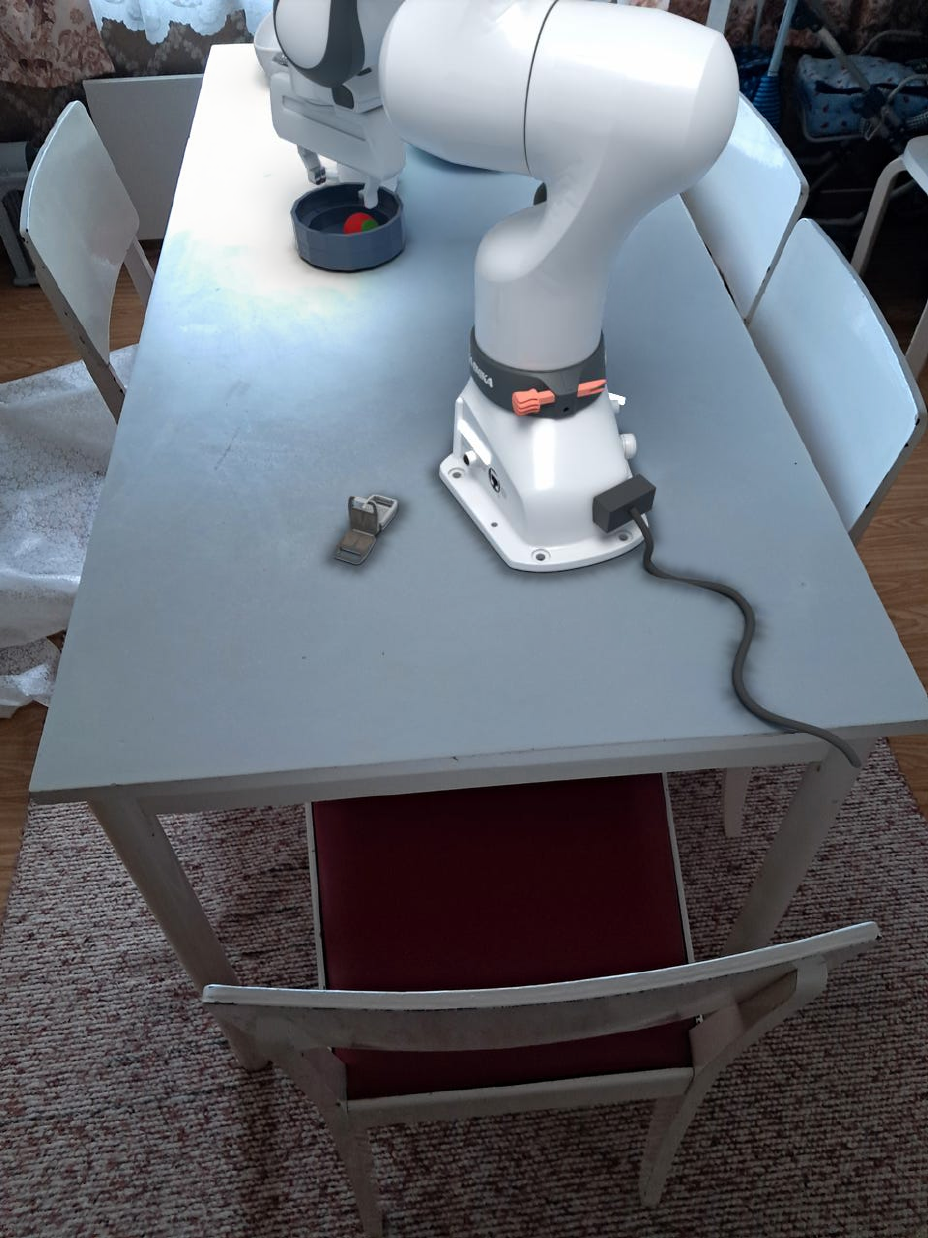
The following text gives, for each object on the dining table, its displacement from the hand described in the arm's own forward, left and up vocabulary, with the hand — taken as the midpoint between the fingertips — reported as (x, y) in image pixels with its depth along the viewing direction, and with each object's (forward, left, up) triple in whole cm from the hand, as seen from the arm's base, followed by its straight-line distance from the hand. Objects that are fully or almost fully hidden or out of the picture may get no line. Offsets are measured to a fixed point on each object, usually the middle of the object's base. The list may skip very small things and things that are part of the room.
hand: (342, 193), depth 109 cm
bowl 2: (0, 0, -7) cm, 7 cm away
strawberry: (0, -1, -5) cm, 5 cm away
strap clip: (-52, +10, -7) cm, 53 cm away
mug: (+15, -4, -7) cm, 17 cm away
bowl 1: (+59, -8, -7) cm, 60 cm away
